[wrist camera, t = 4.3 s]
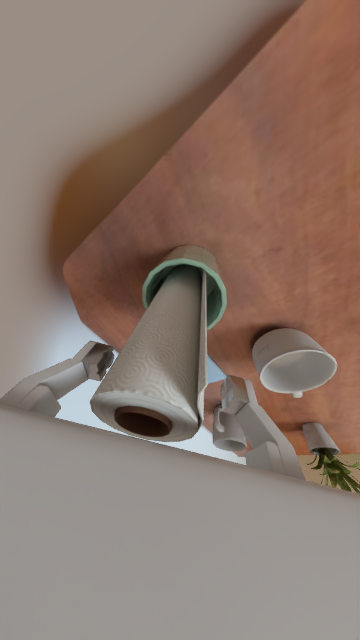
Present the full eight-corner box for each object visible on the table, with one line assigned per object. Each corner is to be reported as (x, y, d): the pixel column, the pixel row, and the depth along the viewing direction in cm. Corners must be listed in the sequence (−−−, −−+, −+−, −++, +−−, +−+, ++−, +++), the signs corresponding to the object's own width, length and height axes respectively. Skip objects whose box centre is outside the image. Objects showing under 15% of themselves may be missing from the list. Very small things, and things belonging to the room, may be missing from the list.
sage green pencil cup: (157, 296, 28) (140, 325, 21) (164, 237, 22) (144, 248, 15) (209, 309, 28) (210, 342, 21) (229, 253, 22) (241, 272, 15)
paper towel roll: (175, 301, 28) (124, 443, 10) (162, 269, 25) (61, 397, 7) (213, 291, 26) (231, 451, 8) (205, 255, 22) (207, 390, 5)
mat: (142, 344, 36) (141, 345, 35) (181, 323, 31) (181, 325, 30) (189, 387, 44) (188, 388, 43) (226, 376, 39) (227, 378, 38)
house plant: (358, 424, 43) (427, 517, 29) (321, 438, 51) (362, 517, 38) (311, 412, 42) (359, 500, 29) (281, 428, 51) (308, 504, 37)
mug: (244, 412, 48) (252, 450, 40) (219, 416, 52) (221, 451, 44) (228, 393, 43) (233, 432, 35) (201, 399, 47) (201, 435, 39)
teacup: (247, 324, 29) (260, 355, 22) (314, 315, 26) (351, 349, 19) (249, 369, 36) (258, 403, 29) (301, 366, 33) (325, 403, 27)
